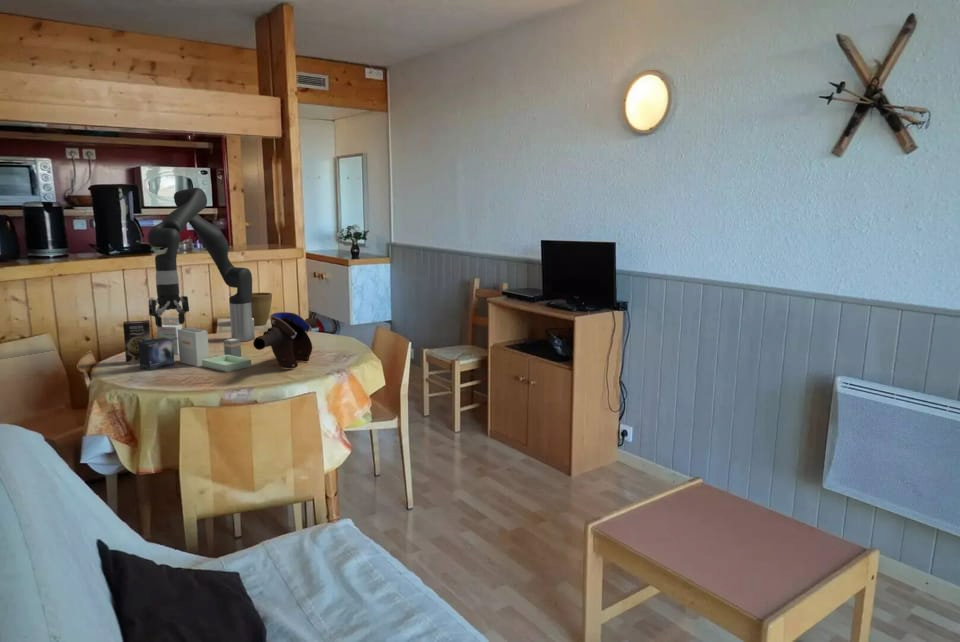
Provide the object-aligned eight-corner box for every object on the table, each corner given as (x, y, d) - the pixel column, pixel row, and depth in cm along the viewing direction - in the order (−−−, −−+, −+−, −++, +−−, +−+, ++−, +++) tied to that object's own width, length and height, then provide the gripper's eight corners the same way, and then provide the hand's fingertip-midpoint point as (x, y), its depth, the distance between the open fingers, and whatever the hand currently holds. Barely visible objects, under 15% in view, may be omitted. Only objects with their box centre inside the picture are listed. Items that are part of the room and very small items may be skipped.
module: (234, 355, 262) (233, 338, 261) (241, 356, 260) (240, 339, 259) (224, 357, 259) (223, 339, 257) (231, 358, 256) (230, 341, 255)
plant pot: (278, 322, 337) (277, 292, 335) (265, 327, 323) (264, 296, 320) (251, 321, 339) (250, 291, 336) (237, 326, 325) (236, 295, 322)
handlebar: (276, 380, 225) (274, 324, 221) (243, 378, 227) (240, 323, 223) (328, 353, 268) (327, 306, 264) (300, 351, 270) (298, 304, 267)
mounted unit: (193, 359, 255) (190, 326, 252) (210, 363, 248) (208, 329, 246) (179, 362, 250) (176, 328, 247) (196, 366, 243) (194, 332, 241)
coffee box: (126, 365, 244) (122, 323, 241) (126, 361, 250) (122, 321, 247) (152, 362, 248) (149, 322, 245) (152, 359, 254) (149, 319, 251)
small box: (149, 371, 236) (146, 343, 234) (139, 368, 239) (136, 341, 237) (175, 365, 244) (173, 338, 243) (165, 363, 248) (163, 336, 246)
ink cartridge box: (158, 354, 263) (155, 319, 260) (165, 351, 268) (162, 317, 265) (177, 354, 262) (175, 319, 259) (184, 352, 267) (182, 317, 264)
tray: (227, 360, 252) (227, 354, 252) (251, 366, 244) (251, 359, 244) (202, 366, 243) (201, 359, 243) (226, 372, 235) (225, 365, 235)
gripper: (179, 280, 244) (182, 321, 247) (142, 283, 233) (146, 327, 235) (191, 281, 240) (194, 323, 243) (154, 284, 228) (157, 329, 231)
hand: (170, 325), depth 239 cm, fingers open, 8 cm apart
